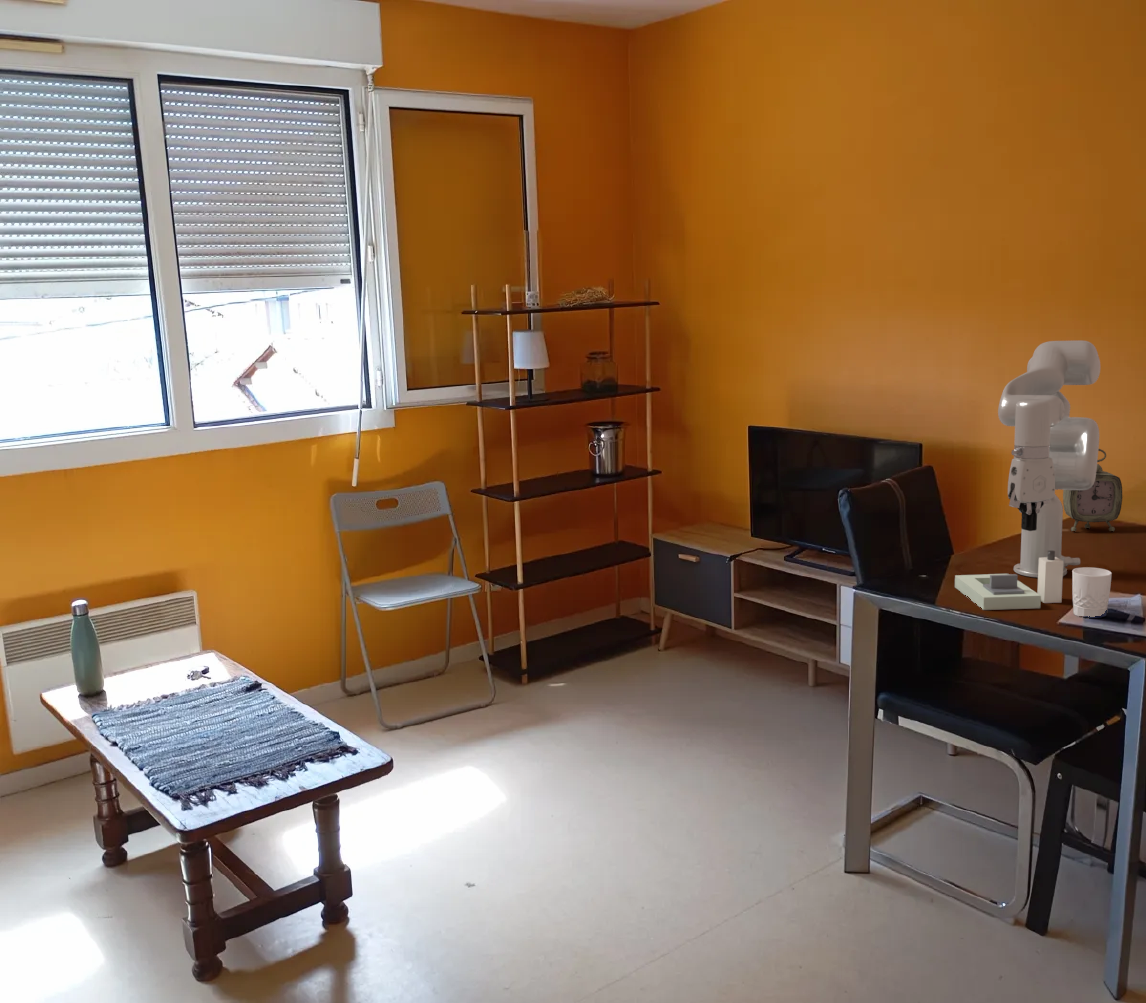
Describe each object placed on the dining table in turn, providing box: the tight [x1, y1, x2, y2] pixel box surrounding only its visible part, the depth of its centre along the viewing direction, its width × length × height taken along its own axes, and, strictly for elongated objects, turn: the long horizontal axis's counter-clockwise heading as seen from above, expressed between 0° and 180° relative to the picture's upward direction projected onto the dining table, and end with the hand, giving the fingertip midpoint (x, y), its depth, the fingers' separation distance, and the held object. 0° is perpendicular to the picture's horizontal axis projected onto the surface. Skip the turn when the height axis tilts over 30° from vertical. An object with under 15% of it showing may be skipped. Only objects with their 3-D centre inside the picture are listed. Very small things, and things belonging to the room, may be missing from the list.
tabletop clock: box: [1062, 448, 1123, 532], centre depth 312 cm, size 14×9×25 cm, turn 80°
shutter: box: [983, 573, 1024, 594], centre depth 245 cm, size 7×7×4 cm
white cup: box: [1071, 566, 1113, 617], centre depth 233 cm, size 8×8×10 cm
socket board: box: [954, 573, 1042, 611], centre depth 250 cm, size 13×20×3 cm, turn 178°
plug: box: [1036, 550, 1064, 604], centre depth 245 cm, size 4×4×12 cm
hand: (1028, 529), depth 245 cm, fingers closed
